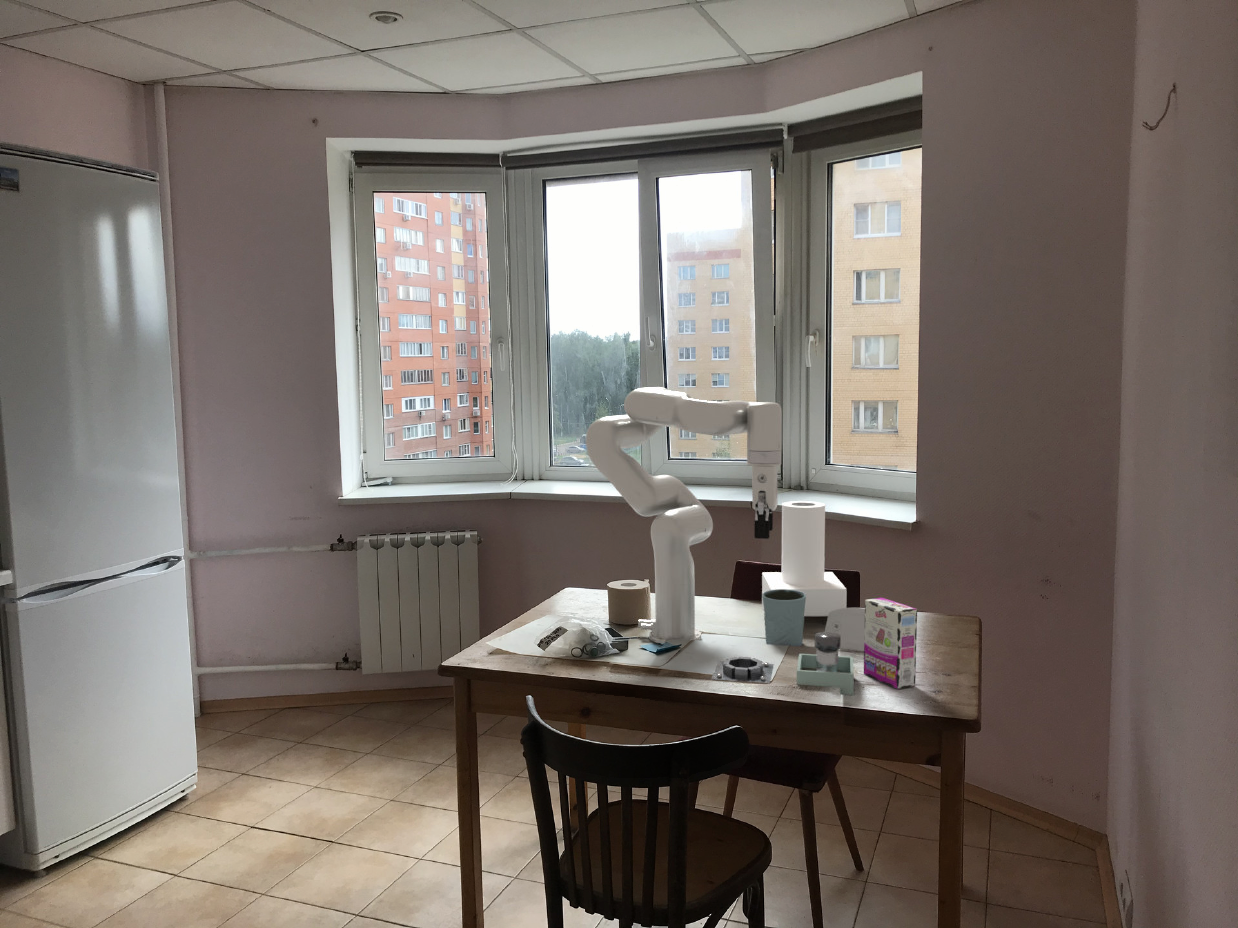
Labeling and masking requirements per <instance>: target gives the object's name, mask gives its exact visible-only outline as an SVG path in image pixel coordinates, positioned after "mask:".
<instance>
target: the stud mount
mask: <svg viewBox="0 0 1238 928" xmlns="http://www.w3.org/2000/svg"><path fill="white" fill-rule="evenodd" d="M774 665H775V664H774V663H769V662H767V661H766V662H763V661H762V660H761V659H758V658H755V657H754V658H752V657H749V656H748V657H747V656H738V657H737V656H734V657H730V658H726V659H722V660H717V663H716V666H715V667H714V671H713V674H712V676H711V680H717V681H732V682H748V683H763V684H771V683H770V682H771V679H772V675H773V671H774V670H773V669H774Z"/></svg>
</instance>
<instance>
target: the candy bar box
mask: <svg viewBox="0 0 1238 928" xmlns="http://www.w3.org/2000/svg"><path fill="white" fill-rule="evenodd" d="M864 608H865V629H864V651H863V674H864V675H866V676H867V677H870V678H872V679H874V680H877V681H879V682H880V683H883V684H886V685H888V686H890V687H893V688H894V689H896V690H900V689H908V688H912V687H916V673H917V671H916V670H917V667H916V666H917V634H918V632H917V631H918V628H917V627H918V608H915V607H912V606H909V605H906V604H903V603H900V602H896V601H894V600H892V599H887V598H885V597H875V598H870V599H869V598H868V599H864Z"/></svg>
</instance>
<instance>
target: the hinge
mask: <svg viewBox="0 0 1238 928" xmlns="http://www.w3.org/2000/svg"><path fill="white" fill-rule="evenodd" d="M826 620H827V621H826V624H825V628H824V632H832V633H836V634H839V635H840V636H841V648H840V649H842V650H849V651H850V650H852V651H859V652H864V629H865V607H846V608H842V609H837V610H833V611H831V612H829V614H828V616H827V617H826Z"/></svg>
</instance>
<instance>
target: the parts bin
mask: <svg viewBox="0 0 1238 928" xmlns="http://www.w3.org/2000/svg"><path fill="white" fill-rule="evenodd" d="M816 660H817V654H814V653H813V654H812V653H811V654H810V653H799V654H798V660H797V668H796V685H800V686H801V685H803V686H817V687H829V688H830V687H833V688H839V690H840V691H839V693H840V695H844V696H845V695H846V696H854V689H855V688H854V684H855V682H854V681H855V677H854V676H855V671H854V656H845V655H843V656H842V655H838V672H824V671H816V670H807V669H816ZM802 668H803V669H806V670H803V669H802Z"/></svg>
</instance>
